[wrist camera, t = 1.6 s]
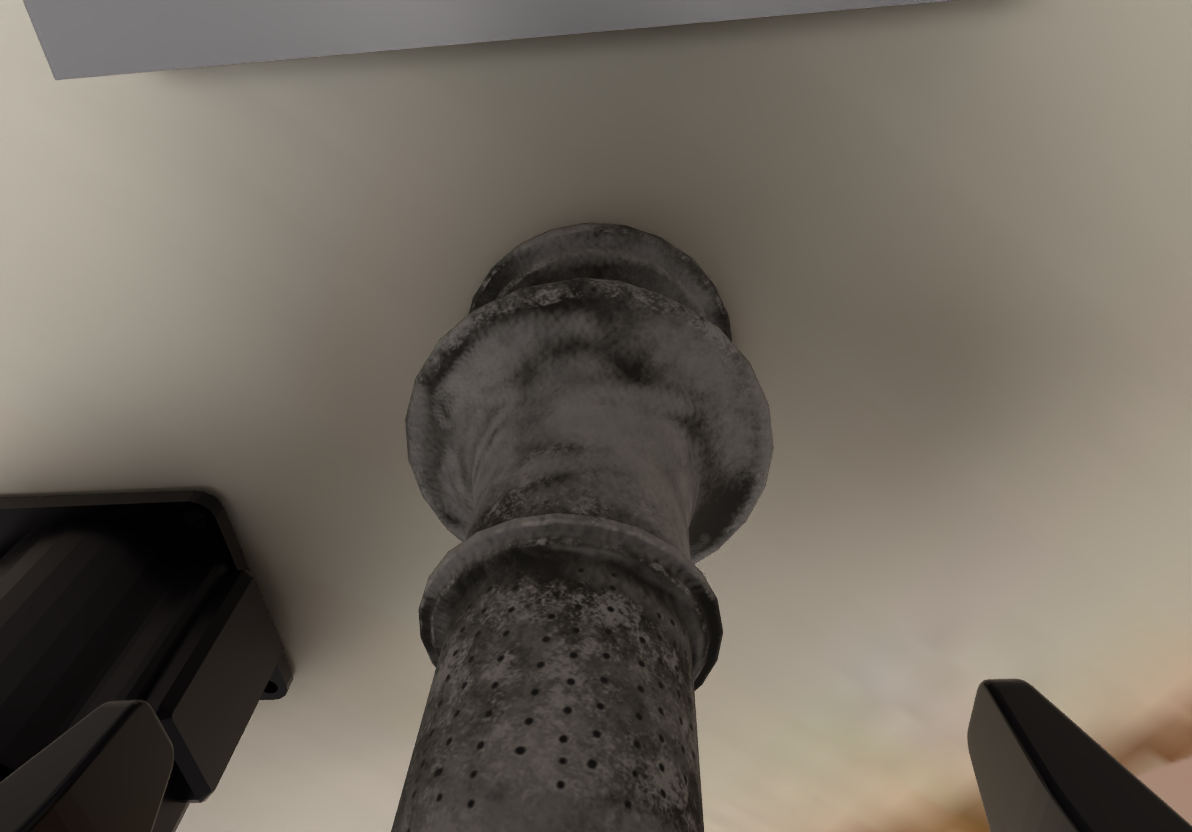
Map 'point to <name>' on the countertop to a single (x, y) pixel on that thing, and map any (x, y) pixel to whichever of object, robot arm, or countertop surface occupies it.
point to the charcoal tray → (345, 26)
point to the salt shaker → (577, 536)
